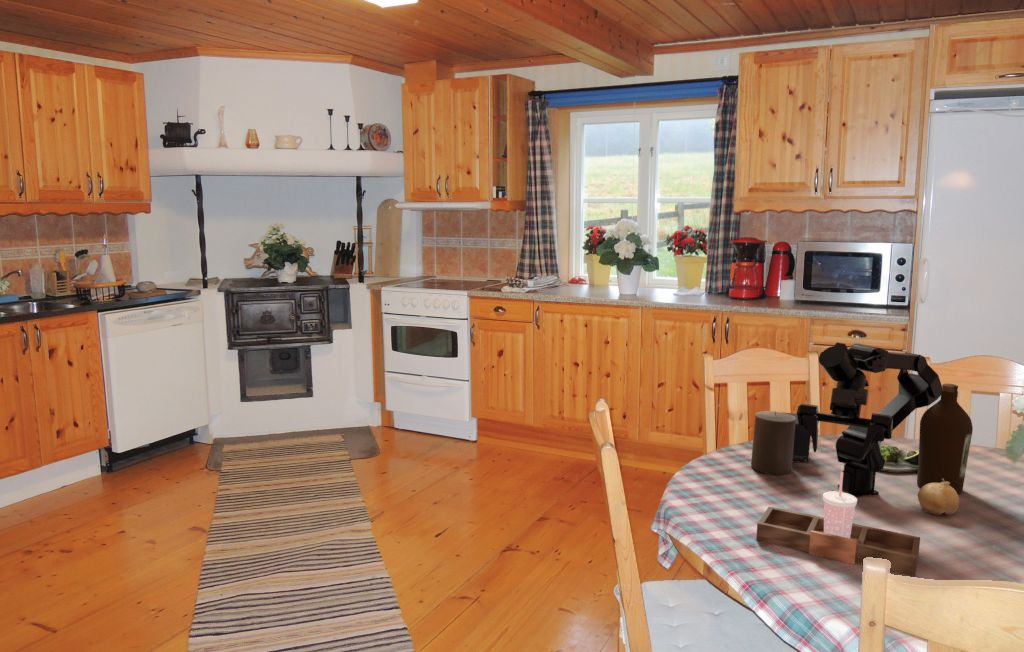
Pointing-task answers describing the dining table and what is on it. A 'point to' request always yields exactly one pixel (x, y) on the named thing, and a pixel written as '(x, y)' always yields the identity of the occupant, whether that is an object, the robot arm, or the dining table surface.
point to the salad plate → (899, 459)
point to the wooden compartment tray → (838, 540)
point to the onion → (938, 498)
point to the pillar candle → (773, 442)
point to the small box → (800, 442)
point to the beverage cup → (838, 512)
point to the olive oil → (944, 441)
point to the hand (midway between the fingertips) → (837, 455)
